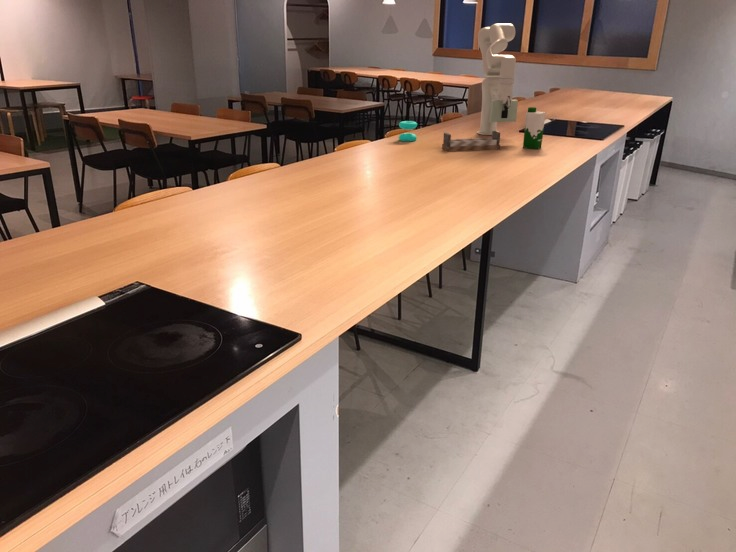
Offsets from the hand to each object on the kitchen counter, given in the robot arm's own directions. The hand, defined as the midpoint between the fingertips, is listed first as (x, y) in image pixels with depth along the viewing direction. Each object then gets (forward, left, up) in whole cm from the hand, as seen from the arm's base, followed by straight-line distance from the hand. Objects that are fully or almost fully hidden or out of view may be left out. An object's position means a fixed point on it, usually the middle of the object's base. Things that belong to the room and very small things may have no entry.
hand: (502, 117), depth 311 cm
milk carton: (+18, +10, -14) cm, 24 cm away
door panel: (0, 0, -2) cm, 2 cm away
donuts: (-16, -48, -14) cm, 53 cm away
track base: (+14, -22, -13) cm, 29 cm away
